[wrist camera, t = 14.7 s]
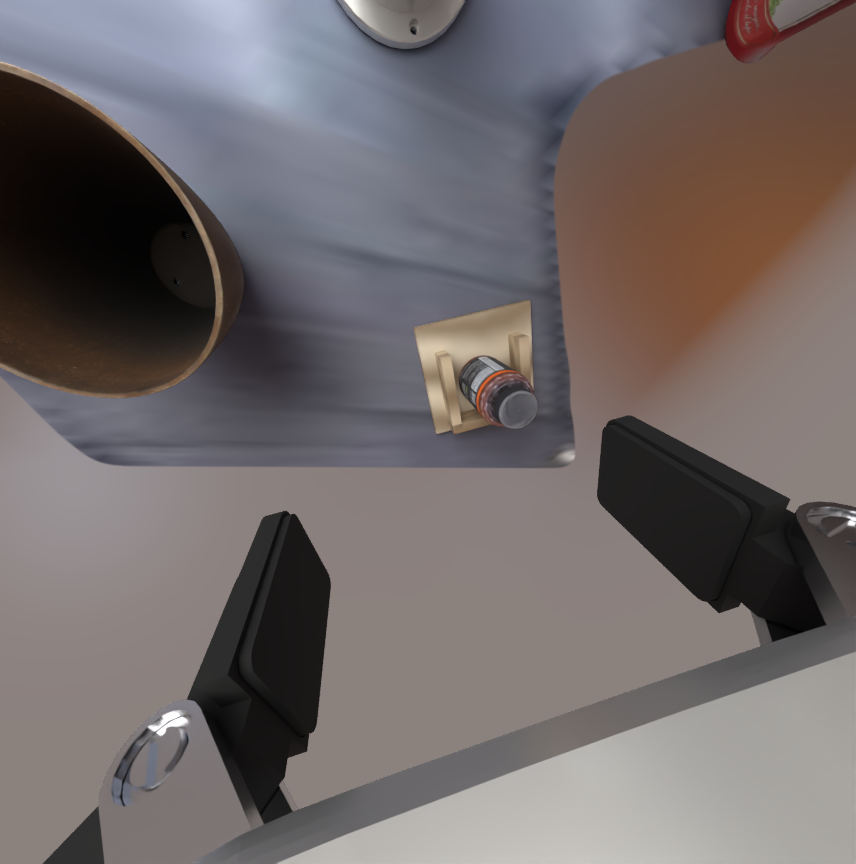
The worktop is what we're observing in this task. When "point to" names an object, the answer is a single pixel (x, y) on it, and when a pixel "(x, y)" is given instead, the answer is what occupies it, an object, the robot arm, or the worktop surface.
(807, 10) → the liquor
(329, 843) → the robot arm
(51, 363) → the plant pot
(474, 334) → the cradle
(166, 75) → the worktop surface
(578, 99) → the worktop surface
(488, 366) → the supplement bottle
